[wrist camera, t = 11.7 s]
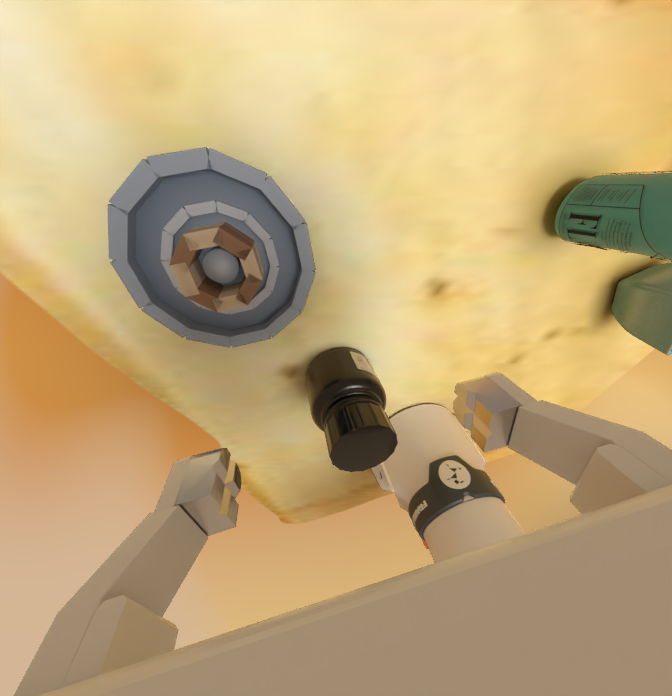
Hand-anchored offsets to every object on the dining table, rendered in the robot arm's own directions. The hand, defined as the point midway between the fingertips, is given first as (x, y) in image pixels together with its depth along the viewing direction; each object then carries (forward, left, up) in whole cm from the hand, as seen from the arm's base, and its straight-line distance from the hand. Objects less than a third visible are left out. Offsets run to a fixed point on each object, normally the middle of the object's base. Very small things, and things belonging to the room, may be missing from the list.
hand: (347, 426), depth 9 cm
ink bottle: (-15, -2, -21) cm, 26 cm away
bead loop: (+2, +6, -20) cm, 21 cm away
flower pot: (-13, -46, -21) cm, 52 cm away
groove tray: (+2, +7, -21) cm, 22 cm away
